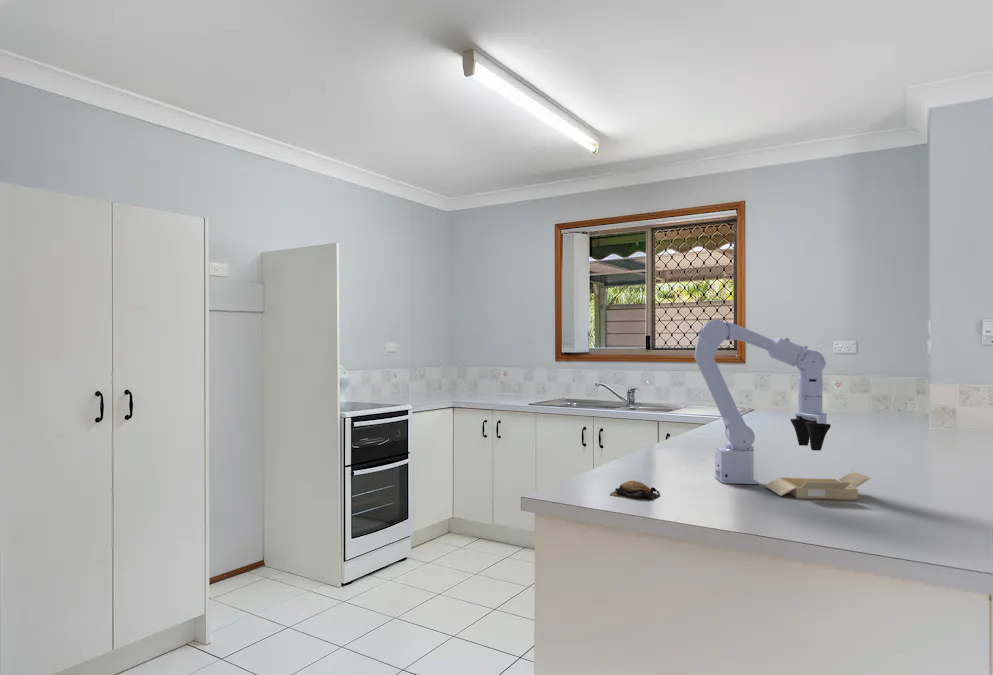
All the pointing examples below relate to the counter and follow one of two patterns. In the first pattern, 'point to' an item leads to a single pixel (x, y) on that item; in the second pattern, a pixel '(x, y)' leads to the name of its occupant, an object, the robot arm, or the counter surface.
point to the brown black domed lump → (635, 491)
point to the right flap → (854, 478)
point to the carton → (811, 489)
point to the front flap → (825, 484)
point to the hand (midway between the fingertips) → (809, 447)
